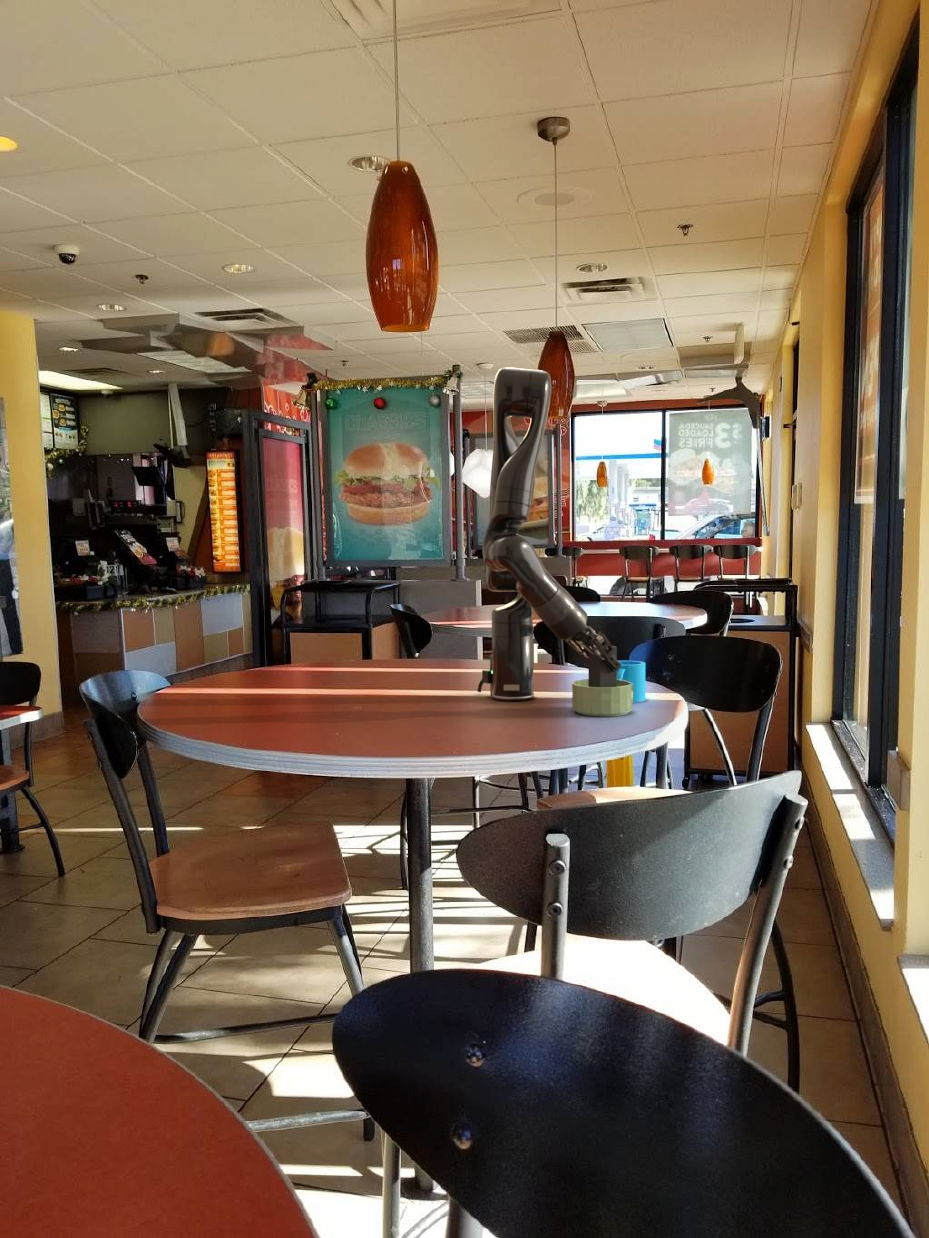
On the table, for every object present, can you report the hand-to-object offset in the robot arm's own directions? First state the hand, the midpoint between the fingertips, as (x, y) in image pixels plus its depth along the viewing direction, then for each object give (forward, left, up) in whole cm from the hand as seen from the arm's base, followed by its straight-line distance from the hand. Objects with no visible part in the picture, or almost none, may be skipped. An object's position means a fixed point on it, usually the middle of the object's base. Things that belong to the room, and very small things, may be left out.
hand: (610, 667), depth 190 cm
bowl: (0, -2, -9) cm, 9 cm away
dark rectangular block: (0, -2, -5) cm, 5 cm away
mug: (-7, +11, -9) cm, 16 cm away
